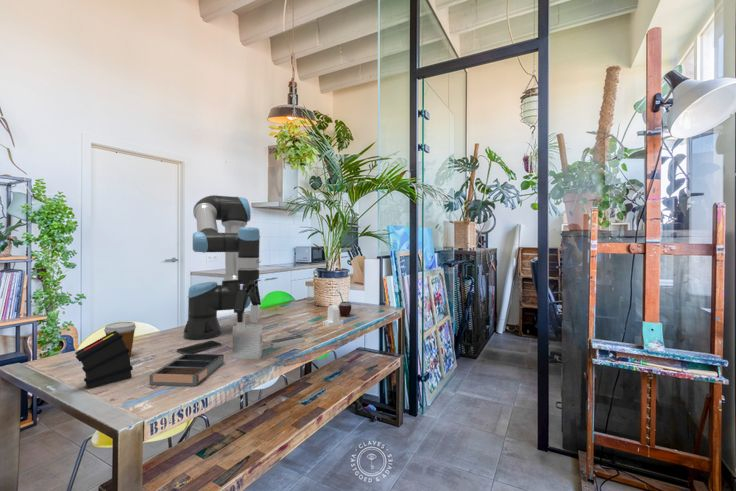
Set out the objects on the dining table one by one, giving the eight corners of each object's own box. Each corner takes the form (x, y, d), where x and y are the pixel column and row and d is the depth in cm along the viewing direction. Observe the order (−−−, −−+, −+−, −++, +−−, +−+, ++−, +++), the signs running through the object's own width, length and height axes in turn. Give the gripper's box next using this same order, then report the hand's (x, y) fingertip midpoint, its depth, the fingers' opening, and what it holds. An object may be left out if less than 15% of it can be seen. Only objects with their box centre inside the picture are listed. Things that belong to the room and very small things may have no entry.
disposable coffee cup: (141, 356, 126) (141, 323, 126) (111, 364, 118) (111, 329, 118) (128, 351, 131) (128, 320, 131) (98, 358, 123) (98, 325, 123)
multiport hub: (304, 342, 149) (304, 336, 149) (274, 349, 139) (274, 343, 139) (299, 339, 152) (299, 334, 152) (269, 346, 142) (269, 340, 142)
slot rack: (149, 384, 103) (149, 374, 103) (184, 361, 122) (184, 353, 122) (197, 386, 102) (197, 376, 102) (224, 363, 121) (224, 354, 121)
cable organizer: (322, 324, 177) (322, 305, 177) (338, 322, 184) (338, 303, 183) (327, 326, 173) (328, 307, 173) (343, 324, 179) (344, 305, 179)
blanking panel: (232, 358, 126) (232, 325, 126) (235, 355, 129) (236, 323, 129) (259, 359, 126) (259, 326, 126) (261, 356, 129) (262, 324, 129)
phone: (175, 349, 132) (211, 340, 145) (175, 352, 132) (211, 342, 145) (186, 353, 128) (222, 343, 140) (186, 356, 128) (222, 346, 140)
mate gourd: (353, 316, 196) (353, 290, 196) (340, 318, 192) (341, 291, 192) (347, 314, 202) (347, 288, 202) (335, 315, 199) (335, 289, 198)
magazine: (143, 369, 110) (119, 331, 104) (97, 400, 101) (68, 360, 95) (139, 366, 112) (116, 329, 107) (94, 396, 103) (65, 357, 98)
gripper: (246, 272, 114) (245, 335, 115) (269, 266, 139) (268, 318, 140) (223, 271, 115) (223, 335, 115) (250, 266, 140) (250, 318, 140)
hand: (247, 326), depth 127 cm, fingers open, 13 cm apart
